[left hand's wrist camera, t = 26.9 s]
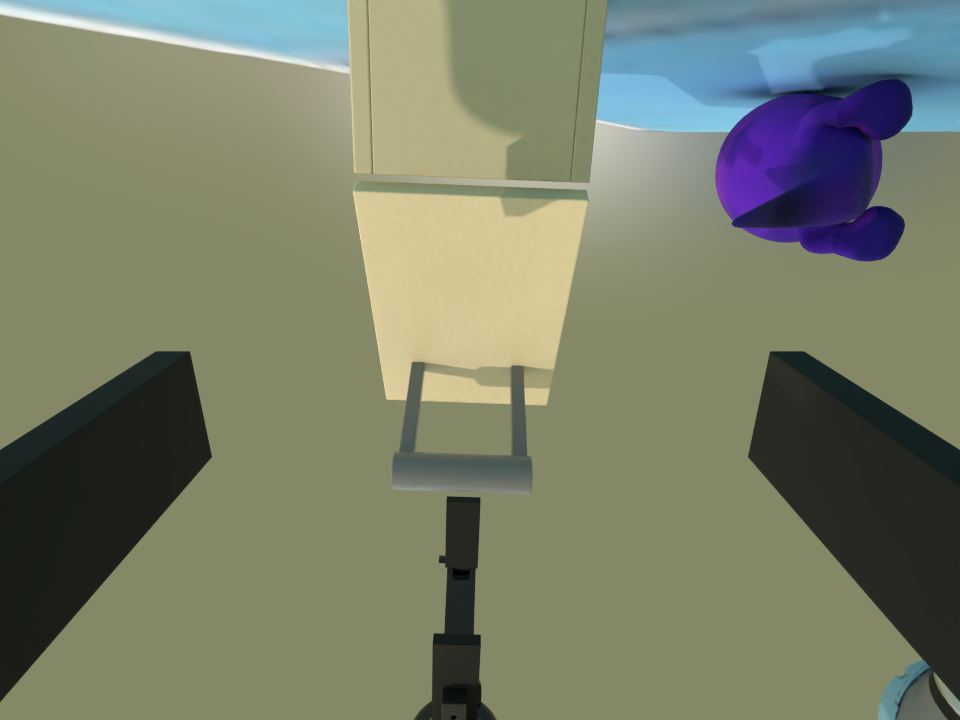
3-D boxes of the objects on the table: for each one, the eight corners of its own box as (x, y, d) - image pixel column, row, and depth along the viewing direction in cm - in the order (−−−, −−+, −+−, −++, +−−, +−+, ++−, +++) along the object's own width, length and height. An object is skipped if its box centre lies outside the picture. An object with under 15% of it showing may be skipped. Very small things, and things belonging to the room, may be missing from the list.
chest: (564, 11, 31) (551, 175, 34) (398, 4, 31) (400, 168, 34) (617, -85, 19) (589, 182, 22) (343, -97, 19) (353, 173, 22)
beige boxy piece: (546, 394, 33) (555, 523, 27) (388, 388, 33) (366, 516, 27) (587, 189, 22) (615, 331, 17) (356, 180, 22) (310, 319, 17)
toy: (996, 64, 38) (840, 75, 62) (727, 125, 43) (678, 113, 67) (968, 277, 45) (836, 212, 69) (736, 310, 49) (688, 238, 73)
